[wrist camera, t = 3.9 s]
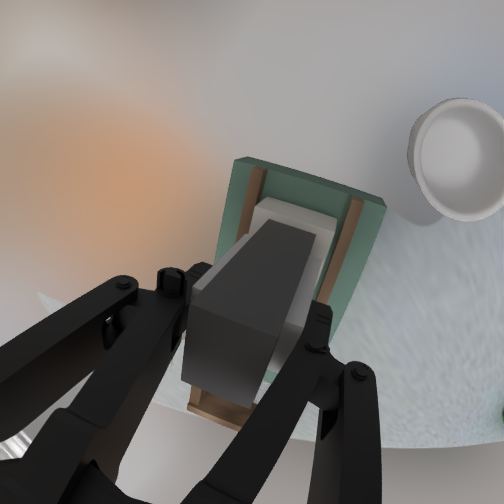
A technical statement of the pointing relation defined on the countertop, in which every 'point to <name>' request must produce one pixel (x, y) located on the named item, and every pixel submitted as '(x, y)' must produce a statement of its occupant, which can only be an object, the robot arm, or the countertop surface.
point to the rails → (342, 243)
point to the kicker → (252, 301)
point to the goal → (218, 409)
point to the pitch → (317, 199)
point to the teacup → (459, 158)
